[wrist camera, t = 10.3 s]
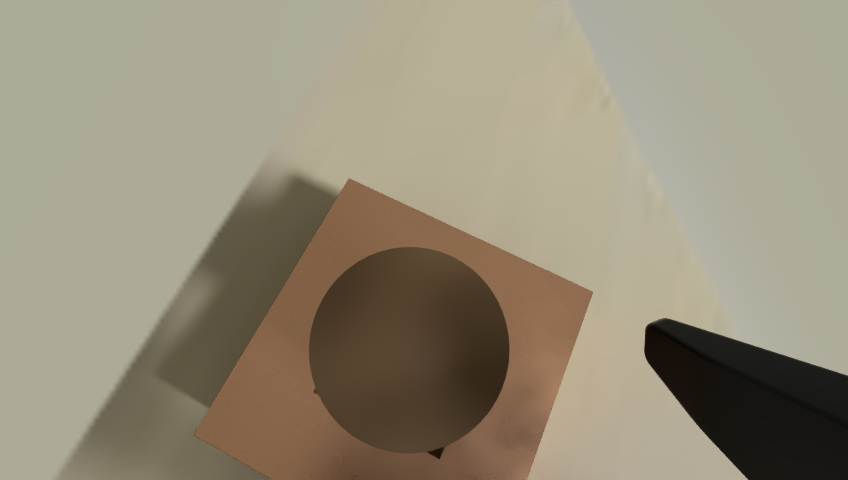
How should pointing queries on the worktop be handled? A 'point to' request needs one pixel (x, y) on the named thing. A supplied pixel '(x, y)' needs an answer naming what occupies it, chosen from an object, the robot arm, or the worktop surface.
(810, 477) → the robot arm
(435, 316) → the pin
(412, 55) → the worktop surface
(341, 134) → the worktop surface
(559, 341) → the hollow square frame
